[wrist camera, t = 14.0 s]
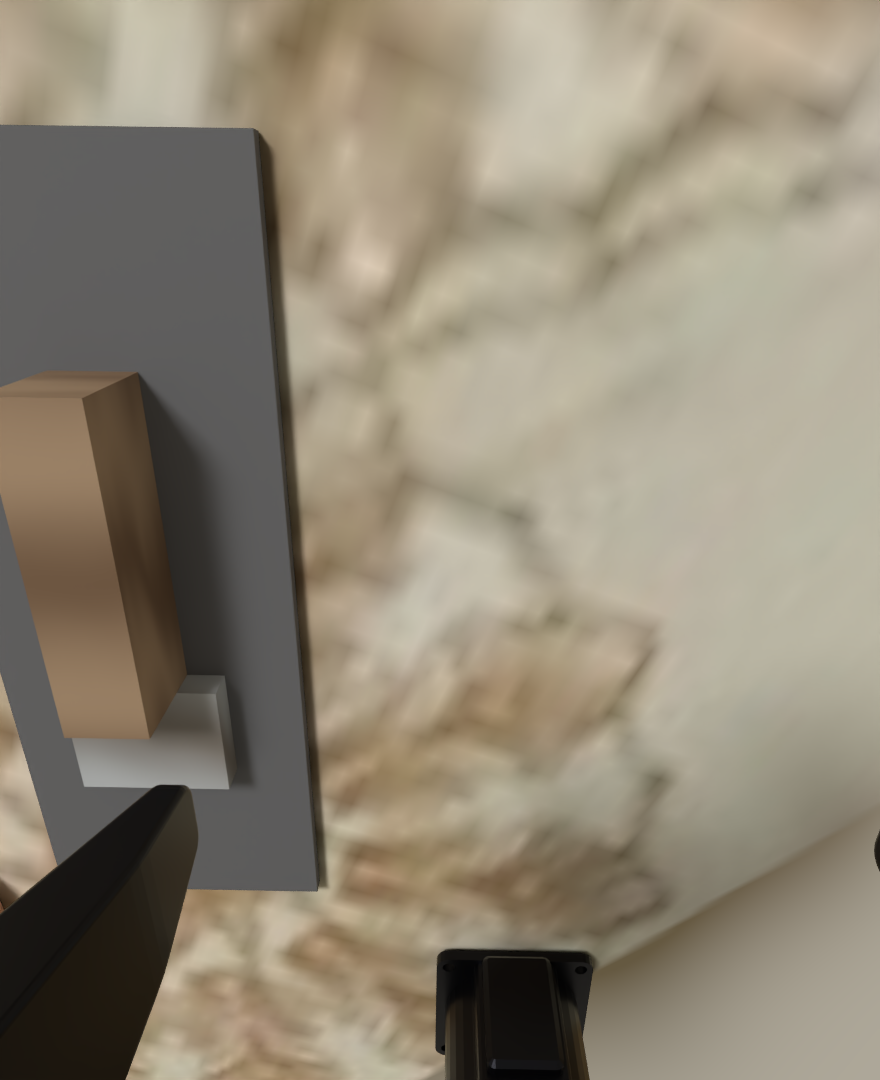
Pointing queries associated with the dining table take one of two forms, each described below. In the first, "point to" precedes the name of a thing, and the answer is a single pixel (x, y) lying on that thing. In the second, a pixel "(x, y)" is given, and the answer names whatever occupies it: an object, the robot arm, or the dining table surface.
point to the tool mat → (169, 455)
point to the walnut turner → (106, 584)
